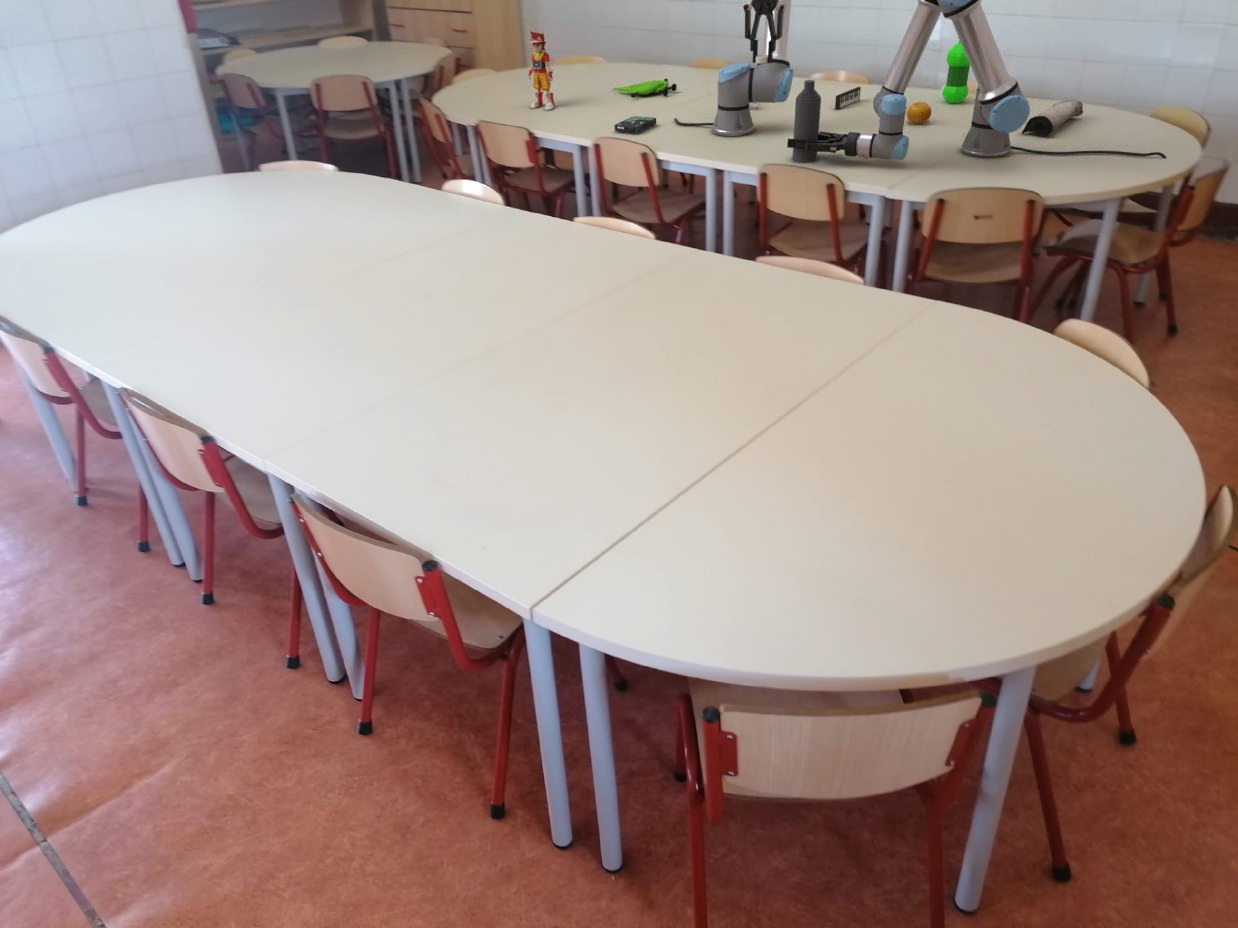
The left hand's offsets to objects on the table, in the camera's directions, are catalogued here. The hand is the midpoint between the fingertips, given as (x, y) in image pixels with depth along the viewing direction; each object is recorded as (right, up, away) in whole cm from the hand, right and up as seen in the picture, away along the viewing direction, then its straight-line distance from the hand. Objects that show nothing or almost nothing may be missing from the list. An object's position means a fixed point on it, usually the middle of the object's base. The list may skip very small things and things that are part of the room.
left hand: (762, 62), depth 294 cm
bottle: (+16, -29, +10) cm, 34 cm away
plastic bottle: (+86, +11, +61) cm, 106 cm away
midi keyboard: (+45, +12, +66) cm, 81 cm away
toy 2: (-37, +33, +103) cm, 115 cm away
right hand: (+11, -22, +8) cm, 26 cm away
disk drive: (-41, -2, +53) cm, 67 cm away
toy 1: (-80, +20, +89) cm, 121 cm away
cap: (0, +1, -1) cm, 2 cm away
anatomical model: (+4, +15, +73) cm, 75 cm away
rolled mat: (+108, -11, +26) cm, 112 cm away
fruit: (+64, -5, +39) cm, 75 cm away
